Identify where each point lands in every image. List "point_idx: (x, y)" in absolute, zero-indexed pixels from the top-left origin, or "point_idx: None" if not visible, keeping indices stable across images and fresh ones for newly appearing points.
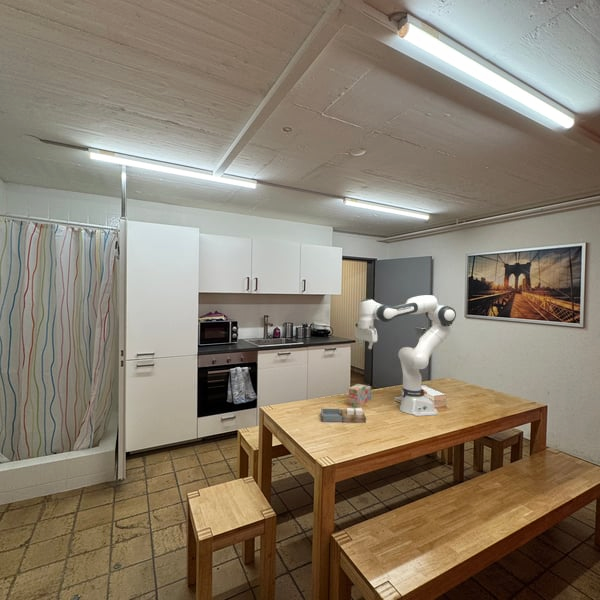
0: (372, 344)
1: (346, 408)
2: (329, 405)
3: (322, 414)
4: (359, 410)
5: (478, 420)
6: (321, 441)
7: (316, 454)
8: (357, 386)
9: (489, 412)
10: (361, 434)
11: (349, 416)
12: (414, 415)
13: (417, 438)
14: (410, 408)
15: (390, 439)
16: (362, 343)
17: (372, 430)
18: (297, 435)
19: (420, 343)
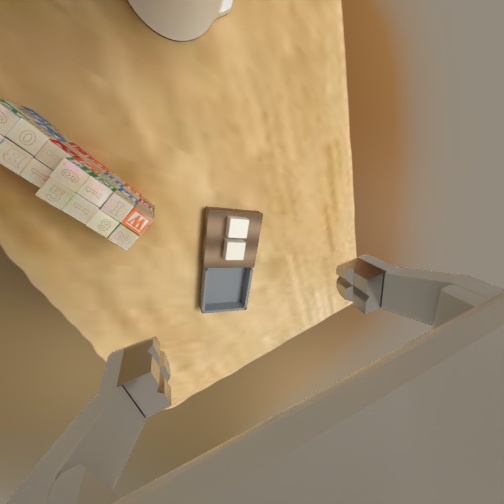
0: (439, 277)
1: (229, 259)
2: (132, 284)
3: (238, 309)
4: (246, 228)
5: None
6: (310, 302)
7: (337, 307)
8: (97, 209)
9: None
10: (303, 235)
11: (250, 252)
12: (226, 13)
13: (344, 119)
14: (214, 8)
15: (332, 184)
16: (142, 389)
17: (293, 207)
18: (285, 335)
19: None
